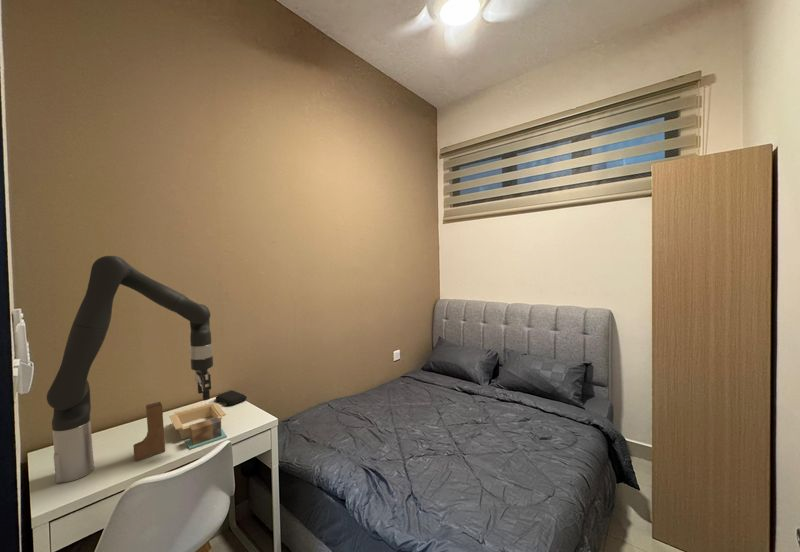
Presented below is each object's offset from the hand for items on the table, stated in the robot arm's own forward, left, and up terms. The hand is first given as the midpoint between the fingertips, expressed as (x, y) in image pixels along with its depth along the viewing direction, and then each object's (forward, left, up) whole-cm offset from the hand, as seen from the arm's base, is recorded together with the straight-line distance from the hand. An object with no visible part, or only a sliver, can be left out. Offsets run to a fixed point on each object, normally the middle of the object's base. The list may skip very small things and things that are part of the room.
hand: (203, 396), depth 136 cm
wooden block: (-18, +3, -18) cm, 25 cm away
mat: (0, 0, -18) cm, 18 cm away
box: (0, 0, -17) cm, 17 cm away
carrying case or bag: (+18, +32, -18) cm, 41 cm away
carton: (0, +14, -18) cm, 22 cm away
